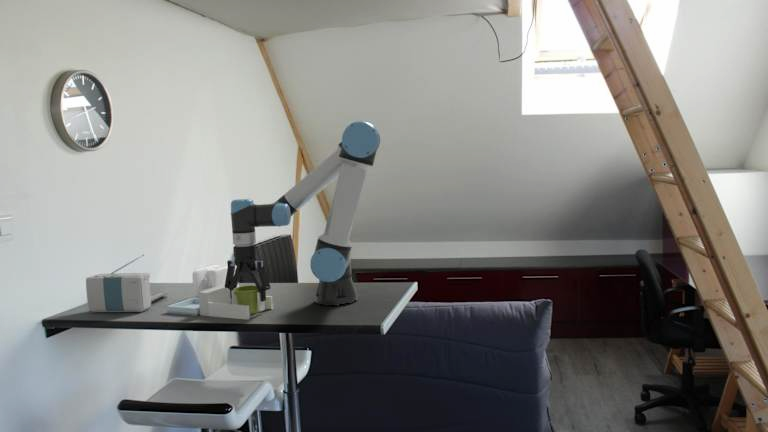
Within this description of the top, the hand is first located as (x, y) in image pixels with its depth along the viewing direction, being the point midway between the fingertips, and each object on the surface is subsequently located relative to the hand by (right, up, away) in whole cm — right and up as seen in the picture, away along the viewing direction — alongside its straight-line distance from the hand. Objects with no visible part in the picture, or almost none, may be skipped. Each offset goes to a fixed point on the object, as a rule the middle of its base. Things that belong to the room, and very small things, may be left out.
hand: (248, 309), depth 200 cm
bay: (-4, -1, +2) cm, 5 cm away
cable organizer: (-19, 0, +28) cm, 34 cm away
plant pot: (0, -1, 0) cm, 2 cm away
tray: (-21, -1, +8) cm, 22 cm away
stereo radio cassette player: (-48, -3, +11) cm, 50 cm away
